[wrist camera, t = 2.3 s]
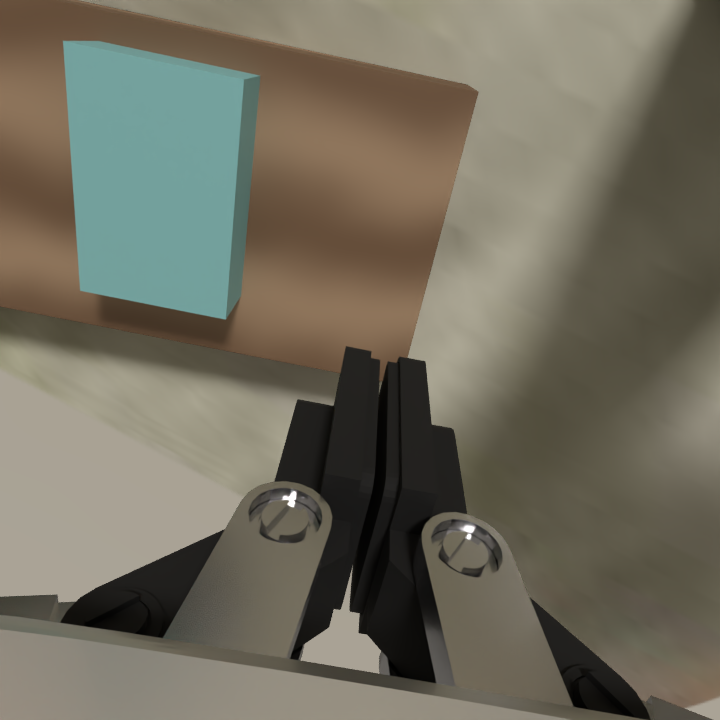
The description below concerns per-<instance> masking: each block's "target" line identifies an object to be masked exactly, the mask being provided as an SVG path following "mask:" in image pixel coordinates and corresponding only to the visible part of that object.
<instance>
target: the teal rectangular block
mask: <svg viewBox="0 0 720 720" xmlns="http://www.w3.org/2000/svg"><path fill="white" fill-rule="evenodd" d="M63 48H64V62H65V77H66V92H67V106H68V121H69V135H70V150H71V164H72V179H73V194H74V208H75V223H76V237H77V252H78V267H79V281H80V291H84V292H89V293H94V294H99V295H104V296H109V297H114V298H119V299H124V300H129V301H134V302H140V303H145V304H150V305H155V306H160V307H165V308H170V309H175V310H180V311H185V312H190V313H195V314H200V315H205V316H210V317H215V318H220V319H225V320H226V319H227V317H228V315H229V314H230V312H231V311H232V309H233V308H234V306H235V304H236V303H237V301H238V300H239V298H240V297H241V290H242V279H243V268H244V256H245V245H246V234H247V222H248V211H249V200H250V189H251V177H252V166H253V155H254V143H255V132H256V121H257V110H258V98H259V87H260V76H259V75H255V74H250V73H246V72H241V71H236V70H232V69H227V68H222V67H218V66H213V65H208V64H204V63H199V62H194V61H190V60H185V59H180V58H176V57H171V56H166V55H162V54H157V53H152V52H148V51H143V50H138V49H134V48H129V47H124V46H120V45H115V44H110V43H106V42H101V41H63Z"/></svg>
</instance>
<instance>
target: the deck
mask: <svg viewBox="0 0 720 720" xmlns="http://www.w3.org/2000/svg"><path fill="white" fill-rule="evenodd" d="M63 41H101V42H106V43H110V44H115V45H120V46H124V47H129V48H134V49H138V50H143V51H148V52H152V53H157V54H162V55H166V56H171V57H176V58H180V59H185V60H190V61H194V62H199V63H204V64H208V65H213V66H218V67H222V68H227V69H232V70H236V71H241V72H246V73H250V74H255V75H259V76H260V87H259V98H258V110H257V121H256V132H255V143H254V155H253V166H252V177H251V189H250V200H249V211H248V222H247V234H246V245H245V256H244V268H243V279H242V290H241V297H240V298H239V300H238V301H237V303H236V304H235V306H234V308H233V309H232V311H231V312H230V314H229V315H228V317H227V319H226V320H225V319H220V318H215V317H210V316H205V315H200V314H195V313H190V312H185V311H180V310H175V309H170V308H165V307H160V306H155V305H150V304H145V303H140V302H134V301H129V300H124V299H119V298H114V297H109V296H104V295H99V294H94V293H89V292H84V291H80V281H79V267H78V252H77V237H76V223H75V208H74V194H73V179H72V164H71V150H70V135H69V121H68V106H67V92H66V77H65V62H64V48H63ZM477 96H478V91H476V90H475V89H473V88H472V87H470V86H468V85H466V84H461V83H457V82H452V81H447V80H443V79H438V78H434V77H429V76H424V75H420V74H415V73H411V72H406V71H401V70H397V69H392V68H388V67H383V66H378V65H374V64H369V63H365V62H360V61H355V60H351V59H346V58H341V57H337V56H332V55H328V54H323V53H318V52H314V51H309V50H305V49H300V48H295V47H291V46H286V45H282V44H277V43H272V42H268V41H263V40H259V39H254V38H249V37H245V36H240V35H236V34H231V33H226V32H222V31H217V30H213V29H208V28H203V27H199V26H194V25H189V24H185V23H180V22H176V21H171V20H166V19H162V18H157V17H153V16H148V15H143V14H139V13H134V12H130V11H125V10H120V9H116V8H111V7H107V6H102V5H97V4H93V3H88V2H84V1H79V0H0V307H6V308H11V309H16V310H21V311H26V312H31V313H36V314H41V315H46V316H51V317H56V318H62V319H67V320H72V321H77V322H82V323H87V324H92V325H97V326H102V327H107V328H113V329H118V330H123V331H128V332H133V333H138V334H143V335H148V336H153V337H158V338H163V339H169V340H174V341H179V342H184V343H189V344H194V345H199V346H204V347H209V348H214V349H220V350H225V351H230V352H235V353H240V354H245V355H250V356H255V357H260V358H265V359H270V360H276V361H281V362H286V363H291V364H296V365H301V366H306V367H311V368H316V369H321V370H326V371H332V372H337V373H340V372H341V367H342V362H343V357H344V352H345V348H346V346H348V347H353V348H358V349H363V350H369V351H371V358H374V359H379V360H380V377H379V381H383V377H384V373H385V369H386V365H387V362H388V361H390V362H395V363H397V360H398V358H399V356H400V357H405V358H407V357H408V353H409V350H410V346H411V342H412V338H413V335H414V331H415V327H416V323H417V320H418V316H419V312H420V308H421V305H422V301H423V297H424V294H425V290H426V286H427V282H428V279H429V275H430V271H431V267H432V264H433V260H434V256H435V252H436V249H437V245H438V241H439V237H440V234H441V230H442V226H443V223H444V219H445V215H446V211H447V208H448V204H449V200H450V196H451V193H452V189H453V185H454V181H455V178H456V174H457V170H458V167H459V163H460V159H461V155H462V152H463V148H464V144H465V140H466V137H467V133H468V129H469V125H470V122H471V118H472V114H473V110H474V107H475V103H476V99H477Z"/></svg>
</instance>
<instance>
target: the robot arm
mask: <svg viewBox="0 0 720 720" xmlns="http://www.w3.org/2000/svg"><path fill="white" fill-rule="evenodd" d="M379 377H380V360H379V359H374V358H371V351H369V350H363V349H358V348H353V347H348V346H346V348H345V352H344V357H343V362H342V367H341V372H340V377H339V382H338V387H337V392H336V397H335V402H334V406H330V405H325V404H320V403H315V402H309V401H304V400H299V399H298V400H297V403H296V406H295V410H294V413H293V417H292V421H291V424H290V428H289V431H288V435H287V439H286V442H285V446H284V449H283V453H282V457H281V460H280V464H279V467H278V471H277V475H276V478H275V482H270V483H267V484H263V485H260V486H258V487H256V488H255V489H253V490H251V491H250V492H248V494H247V495H246V496H245V497H244V498H243V499H242V501H241V502H240V504H239V506H238V507H237V509H236V511H235V513H234V514H233V516H232V518H231V520H230V522H229V523H228V525H227V527H226V529H224V530H222V531H220V532H218V533H215V534H213V535H211V536H209V537H207V538H205V539H203V540H200V541H198V542H196V543H194V544H191V545H189V546H187V547H185V548H183V549H180V550H178V551H176V552H174V553H172V554H170V555H167V556H165V557H163V558H161V559H159V560H156V561H154V562H152V563H150V564H148V565H145V566H144V567H141V568H139V569H137V570H134V571H132V572H130V573H128V574H126V575H124V576H121V577H119V578H117V579H115V580H113V581H110V582H108V583H106V584H104V585H102V586H99V587H97V588H95V589H94V590H92V591H90V592H89V593H87V594H85V595H84V596H82V597H80V599H78V600H77V601H76V602H61V603H58V596H57V595H38V596H37V595H36V596H9V597H0V720H712V719H709V718H707V717H705V716H702V715H699V714H697V713H694V712H692V711H689V710H687V709H684V708H682V707H679V706H676V705H674V704H671V703H669V702H666V701H664V700H661V699H659V698H656V697H653V696H650V698H649V699H648V700H647V701H646V702H645V701H642V700H641V699H640V698H639V696H638V695H637V693H636V692H635V691H634V690H633V689H632V688H631V687H630V686H629V684H628V683H627V682H626V681H625V680H624V679H623V678H622V677H621V676H620V675H618V674H617V673H616V672H615V671H614V670H613V669H611V668H610V667H609V666H608V665H607V664H606V663H605V662H603V661H602V660H601V659H600V658H599V657H598V656H597V655H595V654H594V653H593V652H592V651H591V650H590V649H589V648H587V647H586V646H585V645H584V644H583V643H582V642H581V641H579V640H578V639H577V638H576V637H575V636H574V635H573V634H571V633H570V632H569V631H568V630H567V629H566V628H564V627H563V626H562V625H561V624H560V623H559V622H558V621H556V620H555V619H554V618H553V617H552V616H551V615H550V614H548V613H547V612H546V611H545V610H544V609H543V608H542V607H540V606H539V605H538V604H537V603H536V602H535V601H534V600H532V599H531V598H530V597H529V595H528V592H527V590H526V587H525V585H524V582H523V580H522V578H521V575H520V573H519V570H518V568H517V565H516V563H515V560H514V558H513V555H512V553H511V550H510V548H509V546H508V545H507V543H506V541H505V540H504V538H503V537H502V536H501V535H500V534H499V533H498V532H497V531H496V530H495V529H494V528H493V527H492V526H490V525H489V524H487V523H486V522H484V521H483V520H481V519H478V518H476V517H474V516H471V515H469V514H467V511H466V504H465V498H464V491H463V485H462V478H461V472H460V465H459V459H458V452H457V446H456V439H455V434H454V430H453V429H452V428H447V427H442V426H436V425H432V424H431V414H430V404H429V393H428V383H427V373H426V363H425V361H420V360H415V359H410V358H405V357H400V356H399V358H398V360H397V363H395V362H390V361H388V362H387V365H386V369H385V373H384V377H383V381H382V385H381V389H380V393H379ZM352 566H353V571H352V583H351V596H350V612H356V613H360V618H359V633H361V634H367V635H368V636H369V637H370V638H371V639H372V641H373V642H374V643H375V644H376V645H377V646H378V647H379V649H380V650H381V653H380V656H379V672H380V674H377V673H371V672H365V671H359V670H353V669H346V668H341V667H335V666H329V665H323V664H317V663H311V662H305V661H300V659H301V657H302V653H303V648H304V644H305V643H306V642H308V641H309V640H311V639H312V638H314V637H315V636H317V635H318V634H320V633H321V632H323V631H324V630H326V629H327V628H328V627H329V625H330V621H331V617H332V613H333V610H334V609H339V610H340V609H341V607H342V603H343V599H344V596H345V592H346V588H347V584H348V581H349V577H350V573H351V570H352Z"/></svg>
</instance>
